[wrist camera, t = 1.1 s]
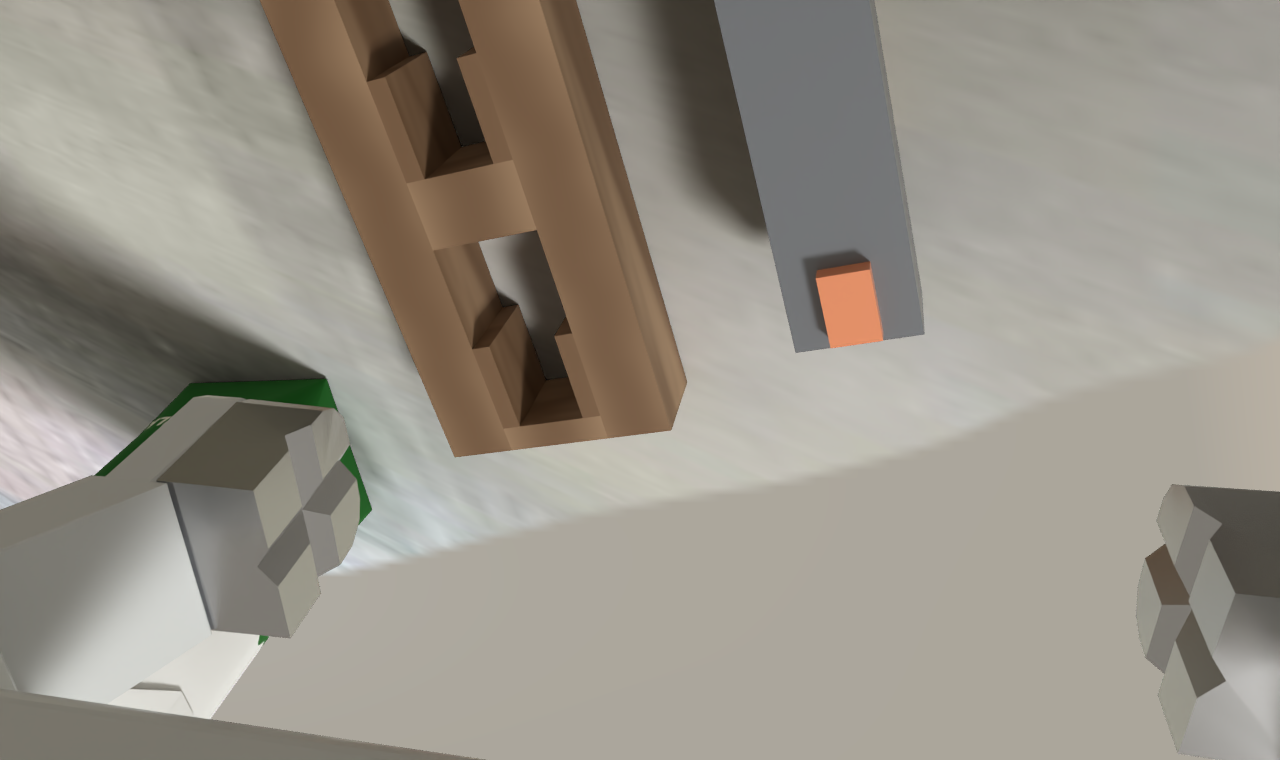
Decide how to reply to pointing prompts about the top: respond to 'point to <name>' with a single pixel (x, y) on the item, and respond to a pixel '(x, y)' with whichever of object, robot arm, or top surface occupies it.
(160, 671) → the milk carton
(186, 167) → the top surface
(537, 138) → the keyhole board
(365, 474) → the top surface
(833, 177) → the grey bar
